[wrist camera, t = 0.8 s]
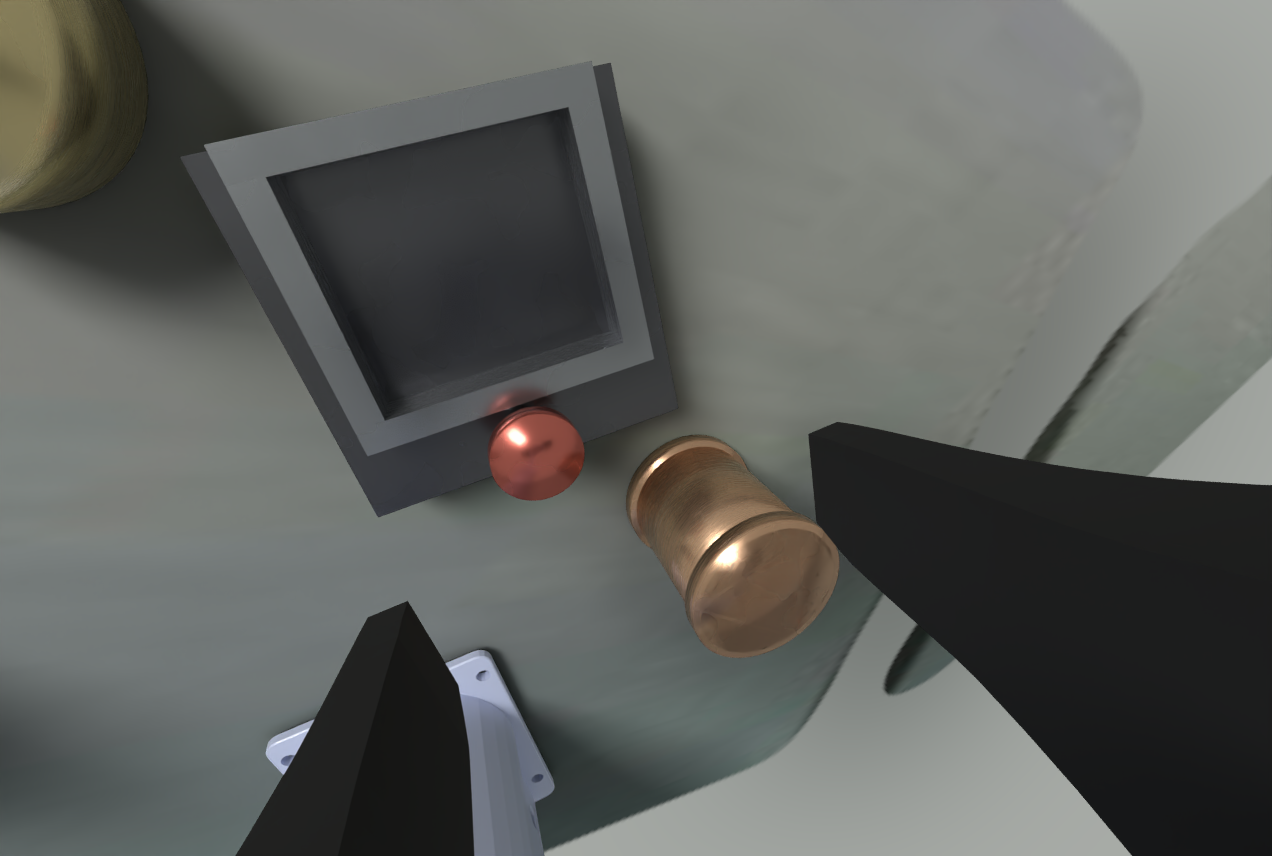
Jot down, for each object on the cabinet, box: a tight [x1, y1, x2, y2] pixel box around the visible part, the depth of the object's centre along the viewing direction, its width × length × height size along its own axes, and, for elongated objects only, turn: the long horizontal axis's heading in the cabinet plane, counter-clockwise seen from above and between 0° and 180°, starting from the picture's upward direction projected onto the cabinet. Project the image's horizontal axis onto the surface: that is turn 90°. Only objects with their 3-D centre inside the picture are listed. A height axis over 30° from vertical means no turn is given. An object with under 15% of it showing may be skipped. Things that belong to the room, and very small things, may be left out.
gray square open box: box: [180, 61, 678, 517], centre depth 14 cm, size 9×9×5 cm
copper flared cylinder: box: [626, 435, 839, 658], centre depth 19 cm, size 5×5×6 cm
